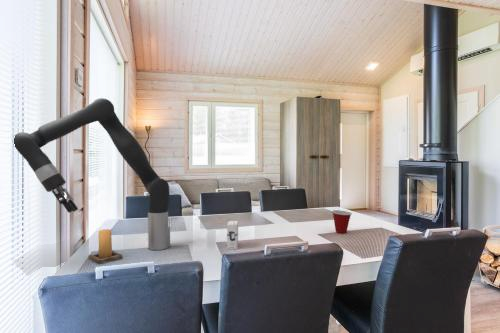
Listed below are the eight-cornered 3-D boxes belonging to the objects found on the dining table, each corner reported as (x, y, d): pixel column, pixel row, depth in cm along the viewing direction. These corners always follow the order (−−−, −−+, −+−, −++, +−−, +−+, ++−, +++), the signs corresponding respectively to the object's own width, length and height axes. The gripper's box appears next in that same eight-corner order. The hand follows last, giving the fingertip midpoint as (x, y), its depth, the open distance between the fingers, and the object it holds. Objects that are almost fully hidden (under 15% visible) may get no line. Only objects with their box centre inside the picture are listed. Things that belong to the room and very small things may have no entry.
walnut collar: (111, 253, 143) (111, 250, 143) (122, 258, 137) (122, 254, 137) (88, 258, 136) (88, 255, 136) (98, 264, 129) (98, 260, 129)
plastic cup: (351, 235, 175) (351, 213, 174) (331, 234, 178) (331, 212, 178) (351, 231, 185) (352, 210, 185) (332, 229, 188) (332, 209, 188)
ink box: (228, 244, 158) (228, 220, 158) (238, 244, 158) (238, 220, 158) (226, 249, 150) (226, 224, 149) (237, 249, 150) (237, 224, 149)
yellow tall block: (108, 256, 140) (108, 228, 139) (113, 258, 136) (113, 230, 136) (97, 258, 136) (96, 230, 136) (102, 261, 133) (101, 232, 132)
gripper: (55, 171, 123) (79, 206, 125) (63, 173, 136) (85, 205, 138) (35, 181, 121) (60, 217, 122) (45, 183, 134) (68, 215, 136)
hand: (73, 210), depth 130 cm, fingers open, 8 cm apart
